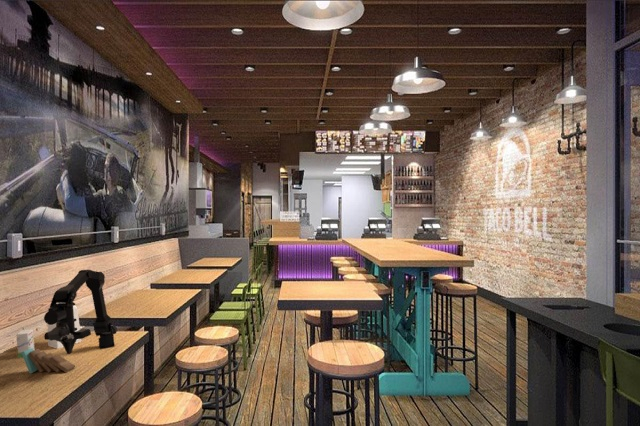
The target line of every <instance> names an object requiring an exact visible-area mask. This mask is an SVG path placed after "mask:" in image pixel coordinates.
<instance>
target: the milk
mask: <svg viewBox="0 0 640 426" xmlns="http://www.w3.org/2000/svg"><path fill="white" fill-rule="evenodd" d="M56 304H57V303H56ZM76 305H77V304H75V305H74V306H73V312H74V319H76V321H75V322H74V324H75V328H77V330H76V331H79V330H81V324H80V318H79V309H78V307H77V306H76ZM56 324H57V323H55V324H53V325H49V324H47V332H49V331H51V330H52V329H54V328H55V327H56ZM76 331H75V332H76ZM81 341H82V342H83V340H82V339H77V340H76V342H75V343H76V344H78V342H79V343H82V342H81ZM47 346H48V347H52V348H55V349H57V350H59V349H62V348H64V346H63V345H62V343H61V342H59V341H56V340H52V341H51V340H47Z"/></svg>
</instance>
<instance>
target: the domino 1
mask: <svg viewBox="0 0 640 426" xmlns="http://www.w3.org/2000/svg"><path fill="white" fill-rule="evenodd" d="M32 351H34V350H33V348H31V349H29V350H26V351H24V352H22V356H23V357H22V358H23V361H24V363H25V366H26V368H27V369H28V370H27V371H28V372H29V374H30V375H31V374H32V373H35V372H37V371H39V370H38V369H37V367H36V366H35V364H34V363H33V361H32V360H31V358H30V357H29V355H28V354H29V353H30V352H32Z"/></svg>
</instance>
